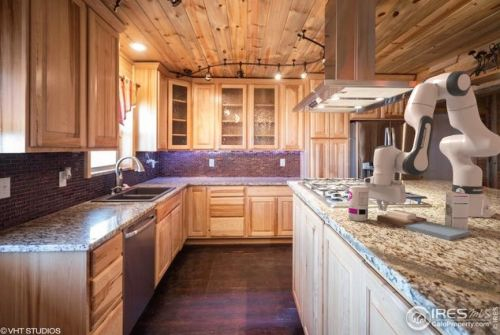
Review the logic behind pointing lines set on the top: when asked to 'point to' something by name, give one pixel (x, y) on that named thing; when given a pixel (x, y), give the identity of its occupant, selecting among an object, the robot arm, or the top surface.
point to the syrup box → (457, 210)
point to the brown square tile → (398, 220)
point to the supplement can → (358, 203)
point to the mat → (438, 230)
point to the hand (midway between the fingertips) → (382, 210)
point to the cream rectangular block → (401, 214)
